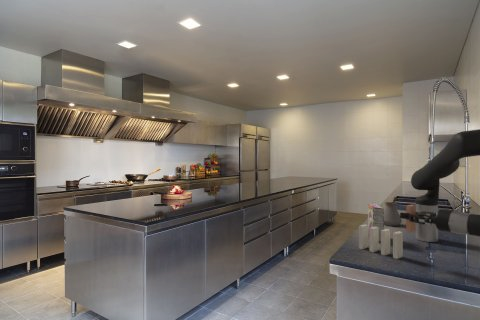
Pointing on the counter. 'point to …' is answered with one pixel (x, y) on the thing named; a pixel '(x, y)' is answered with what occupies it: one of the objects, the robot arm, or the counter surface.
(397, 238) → the domino
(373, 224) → the candy bar box
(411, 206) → the domino
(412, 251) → the counter surface
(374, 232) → the domino
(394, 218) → the coffee pot
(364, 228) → the domino
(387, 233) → the domino
